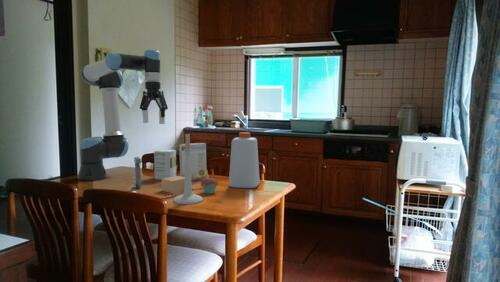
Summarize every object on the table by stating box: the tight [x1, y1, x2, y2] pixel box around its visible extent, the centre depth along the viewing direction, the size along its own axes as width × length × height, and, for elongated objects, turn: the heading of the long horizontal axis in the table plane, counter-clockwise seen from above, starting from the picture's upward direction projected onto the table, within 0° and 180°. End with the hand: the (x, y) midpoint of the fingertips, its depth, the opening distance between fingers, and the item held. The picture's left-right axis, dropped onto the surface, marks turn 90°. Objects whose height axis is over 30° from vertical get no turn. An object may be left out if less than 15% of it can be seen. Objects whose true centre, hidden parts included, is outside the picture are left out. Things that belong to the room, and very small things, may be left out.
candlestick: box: [173, 133, 204, 205], centre depth 163 cm, size 13×13×30 cm
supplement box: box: [153, 149, 177, 181], centre depth 208 cm, size 10×9×17 cm
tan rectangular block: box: [161, 175, 185, 197], centre depth 178 cm, size 8×12×7 cm
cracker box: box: [178, 142, 207, 182], centre depth 207 cm, size 14×6×21 cm, turn 115°
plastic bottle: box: [228, 131, 261, 189], centre depth 195 cm, size 15×15×28 cm
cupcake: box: [200, 168, 219, 194], centre depth 180 cm, size 9×8×12 cm
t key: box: [133, 156, 142, 190], centre depth 181 cm, size 2×10×15 cm, turn 25°
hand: (153, 123), depth 190 cm, fingers open, 13 cm apart
